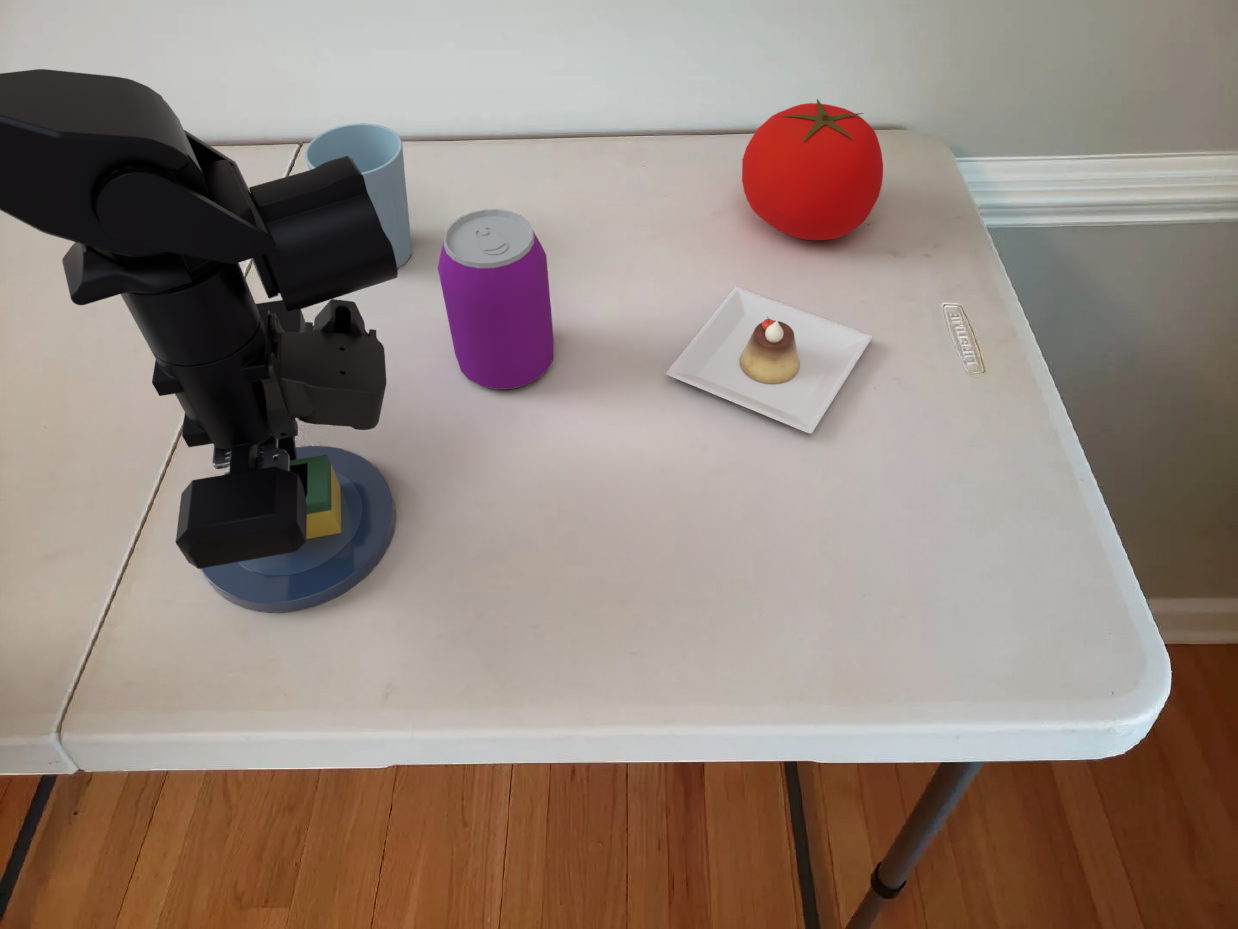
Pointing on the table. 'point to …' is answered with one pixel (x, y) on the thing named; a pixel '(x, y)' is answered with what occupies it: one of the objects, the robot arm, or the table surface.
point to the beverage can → (497, 298)
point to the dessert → (771, 358)
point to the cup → (372, 174)
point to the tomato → (813, 171)
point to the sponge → (321, 497)
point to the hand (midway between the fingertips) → (290, 508)
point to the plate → (319, 546)
